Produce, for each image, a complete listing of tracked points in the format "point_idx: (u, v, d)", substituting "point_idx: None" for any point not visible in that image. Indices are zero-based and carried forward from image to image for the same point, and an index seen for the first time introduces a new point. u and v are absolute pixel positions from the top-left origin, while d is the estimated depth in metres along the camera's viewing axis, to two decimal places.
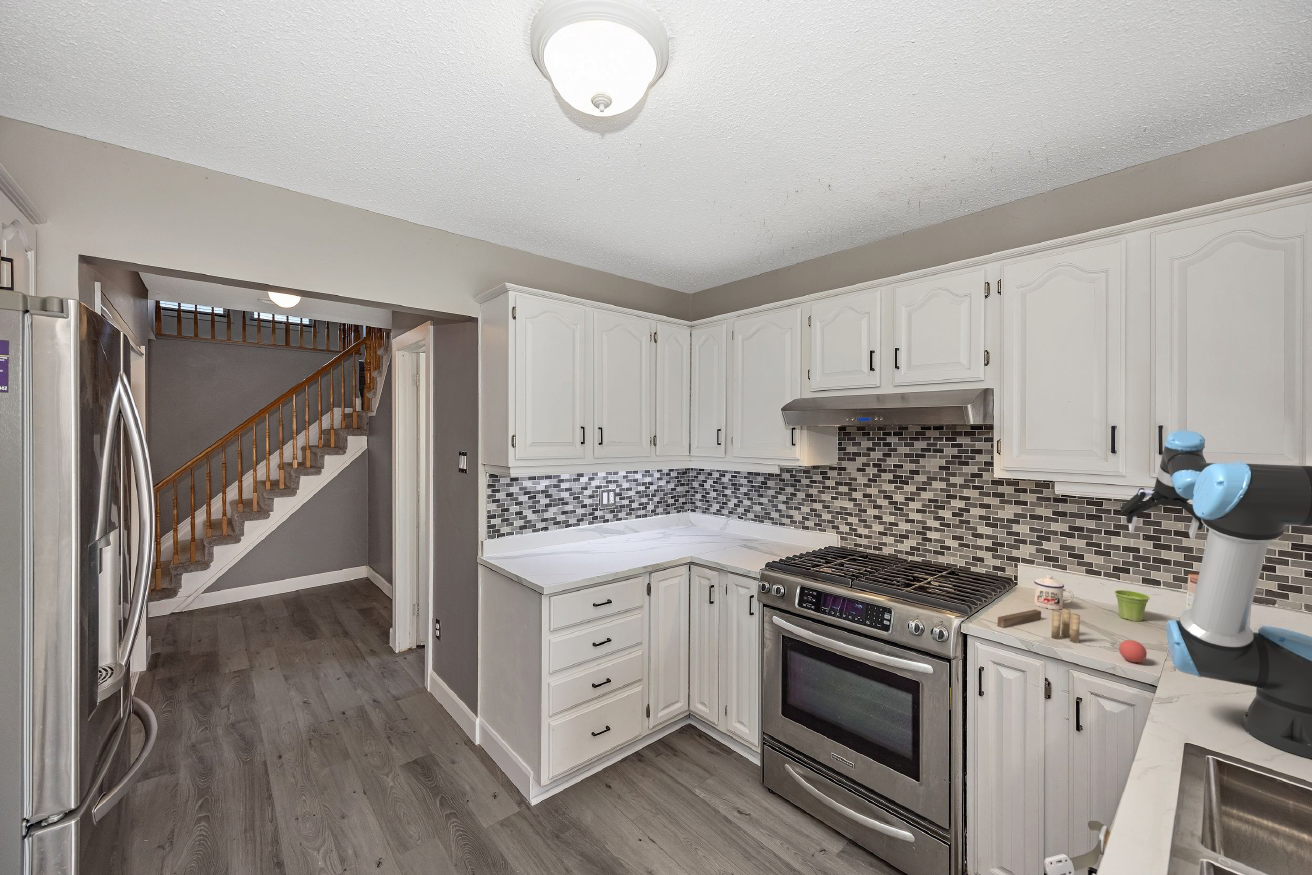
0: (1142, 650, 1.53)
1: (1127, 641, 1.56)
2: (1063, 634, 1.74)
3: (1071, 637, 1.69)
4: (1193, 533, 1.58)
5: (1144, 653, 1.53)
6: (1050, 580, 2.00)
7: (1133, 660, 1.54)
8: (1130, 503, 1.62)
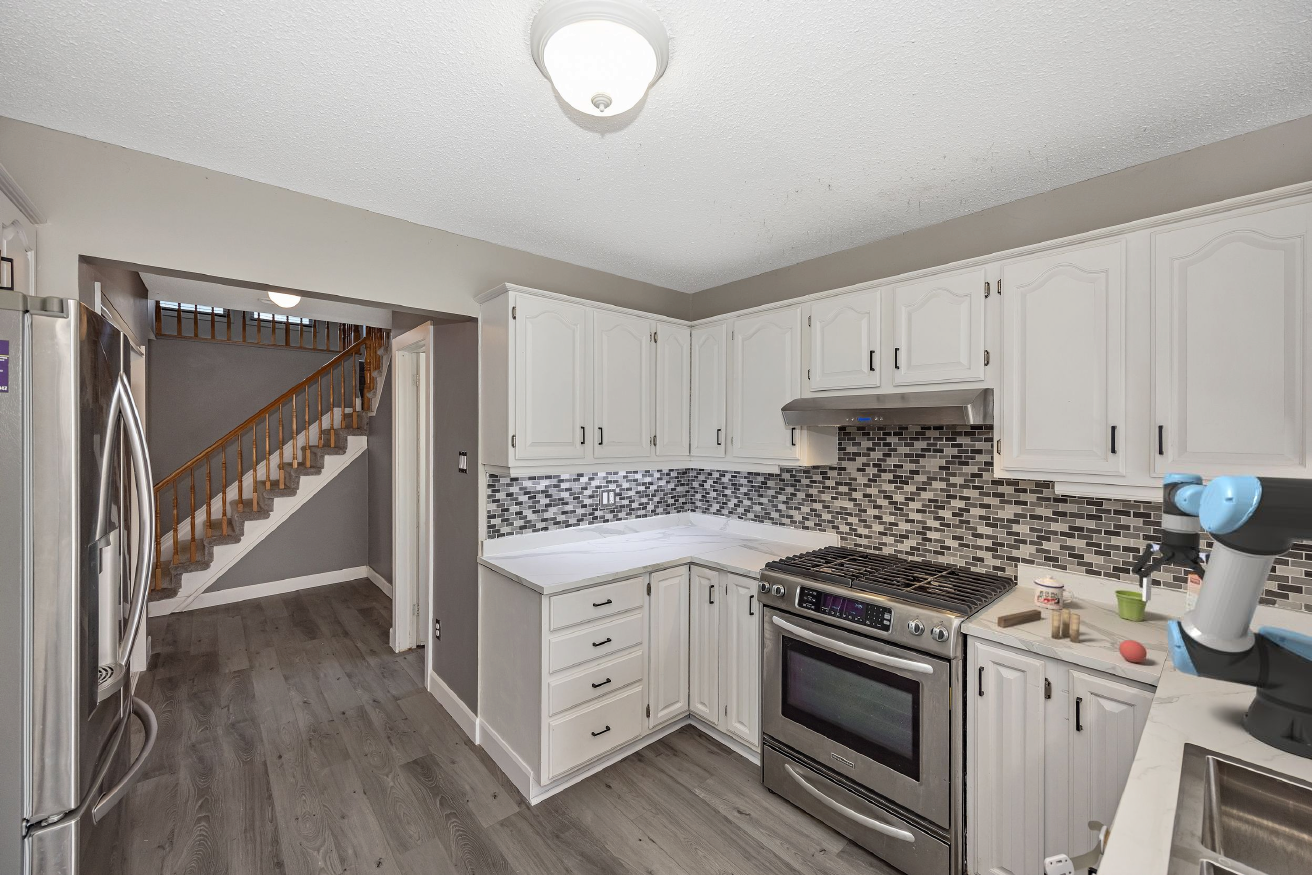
0: (1142, 650, 1.53)
1: (1127, 641, 1.56)
2: (1063, 634, 1.74)
3: (1071, 637, 1.69)
4: None
5: (1144, 653, 1.53)
6: (1050, 580, 2.00)
7: (1133, 660, 1.54)
8: None
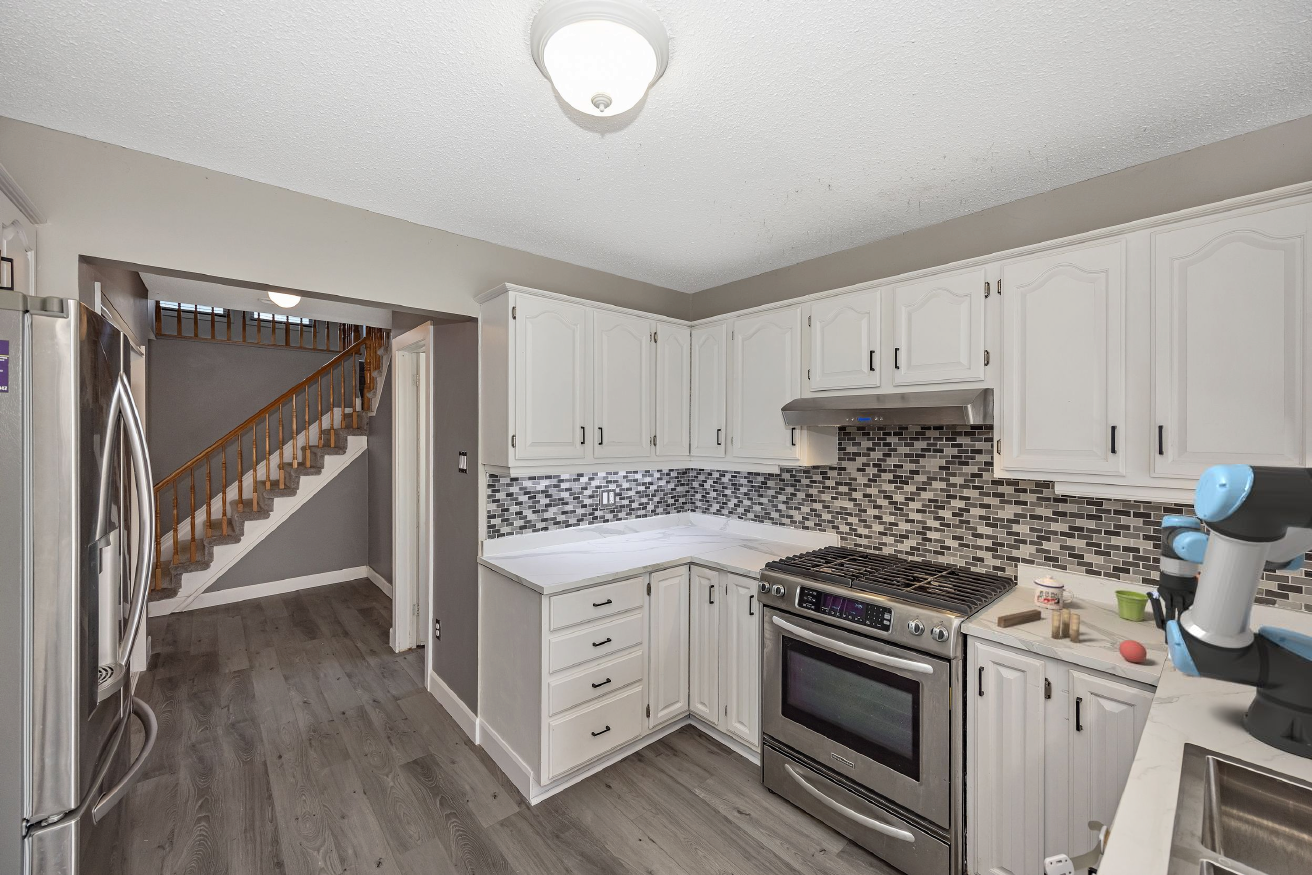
0: (1142, 650, 1.53)
1: (1127, 641, 1.56)
2: (1063, 634, 1.74)
3: (1071, 637, 1.69)
4: None
5: (1144, 653, 1.53)
6: (1050, 580, 2.00)
7: (1133, 660, 1.54)
8: None
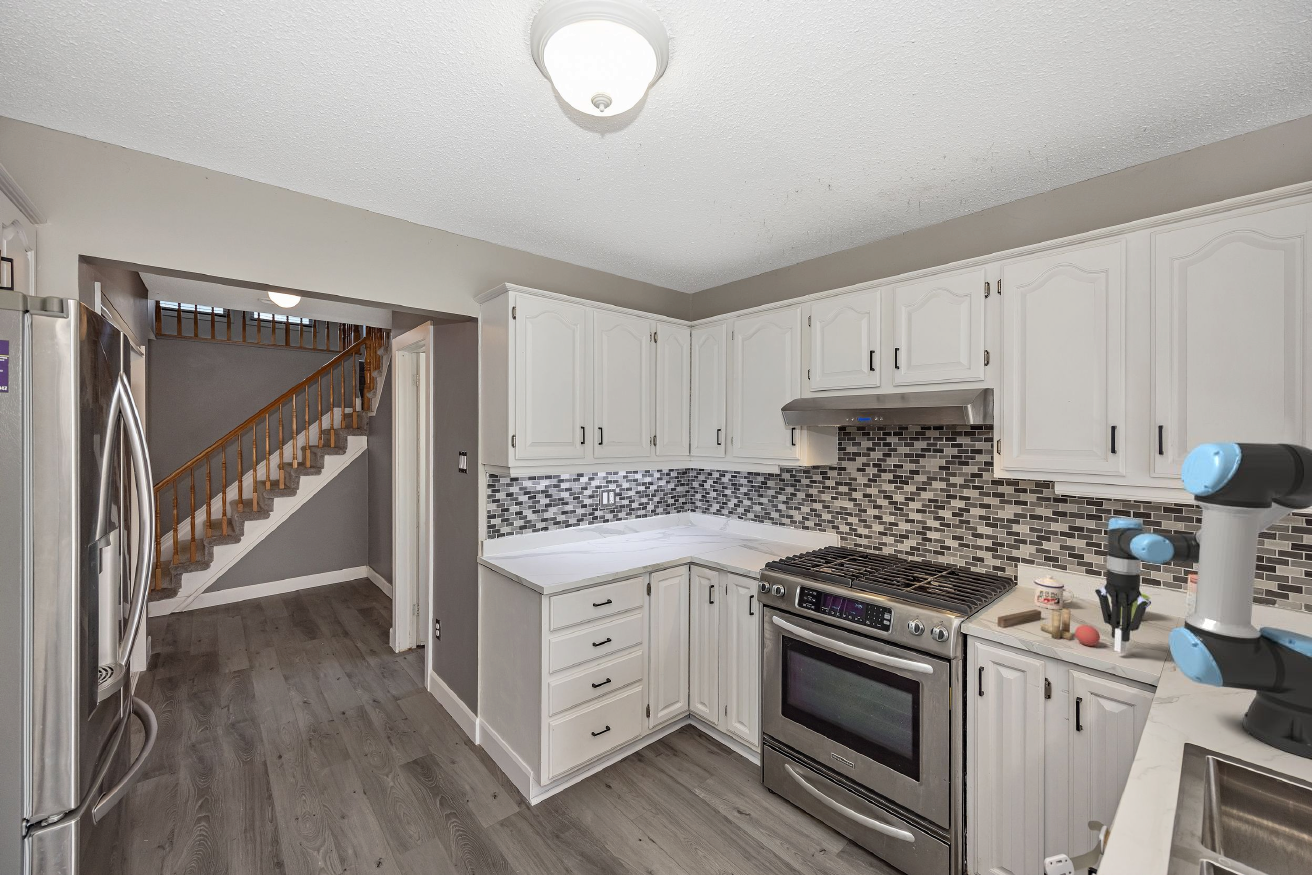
0: (1080, 641, 1.68)
1: (1092, 643, 1.65)
2: None
3: (1064, 636, 1.72)
4: (1118, 644, 1.58)
5: None
6: (1050, 580, 2.00)
7: (1076, 629, 1.68)
8: None
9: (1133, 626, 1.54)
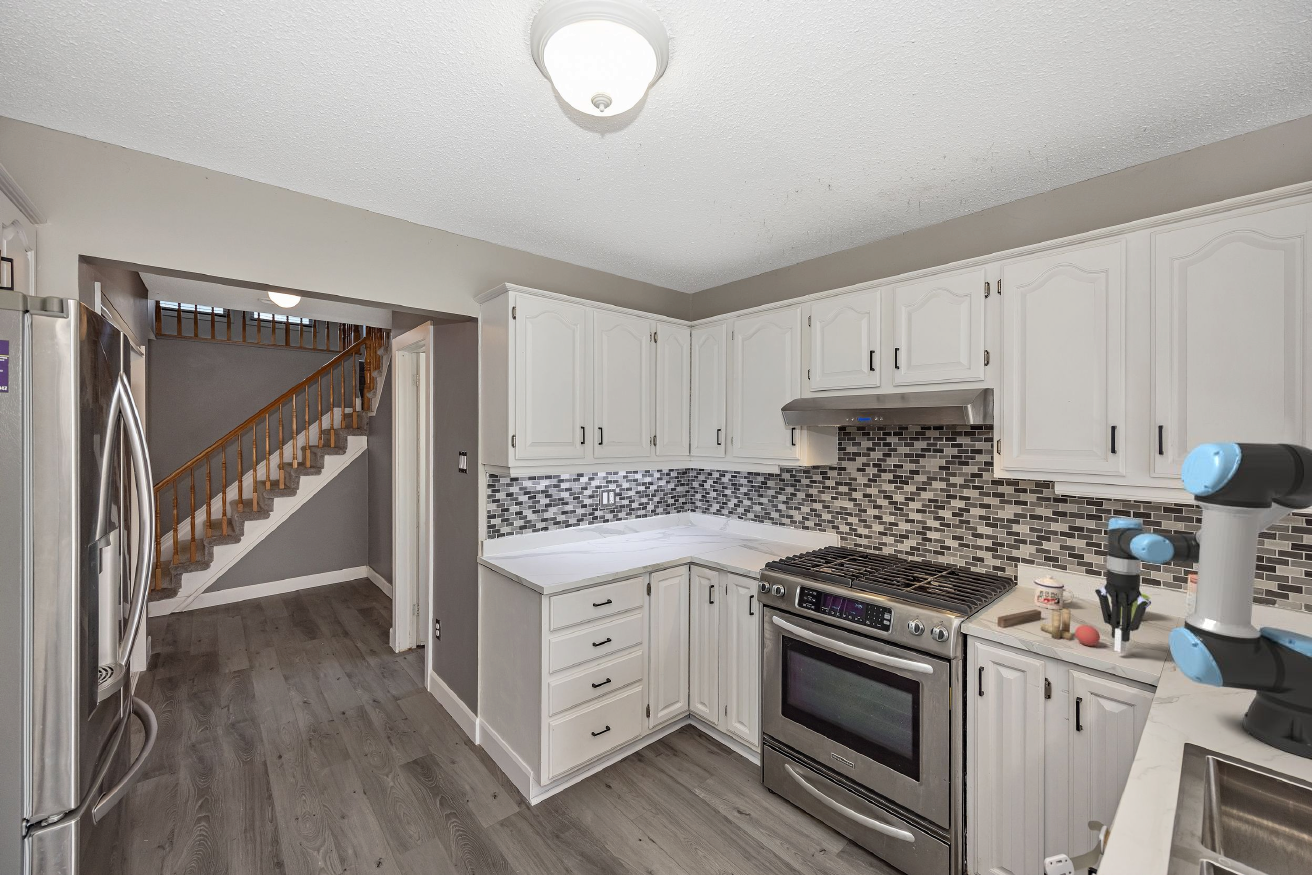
0: (1080, 641, 1.68)
1: (1092, 643, 1.65)
2: None
3: (1064, 636, 1.72)
4: (1118, 644, 1.58)
5: None
6: (1050, 580, 2.00)
7: (1076, 629, 1.68)
8: None
9: (1133, 626, 1.54)
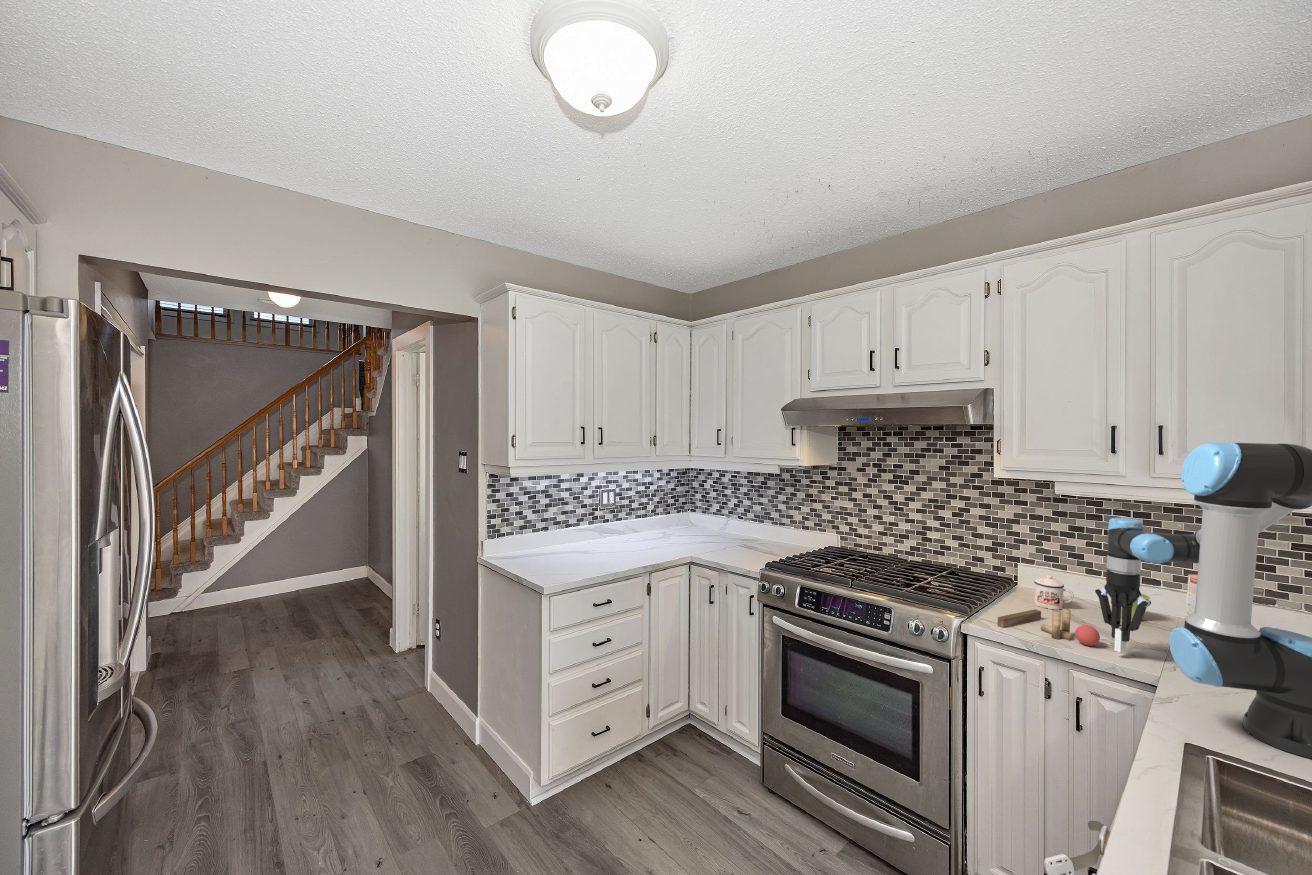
0: (1080, 641, 1.68)
1: (1092, 643, 1.65)
2: None
3: (1064, 636, 1.72)
4: (1118, 644, 1.58)
5: None
6: (1050, 580, 2.00)
7: (1076, 629, 1.68)
8: None
9: (1133, 626, 1.54)
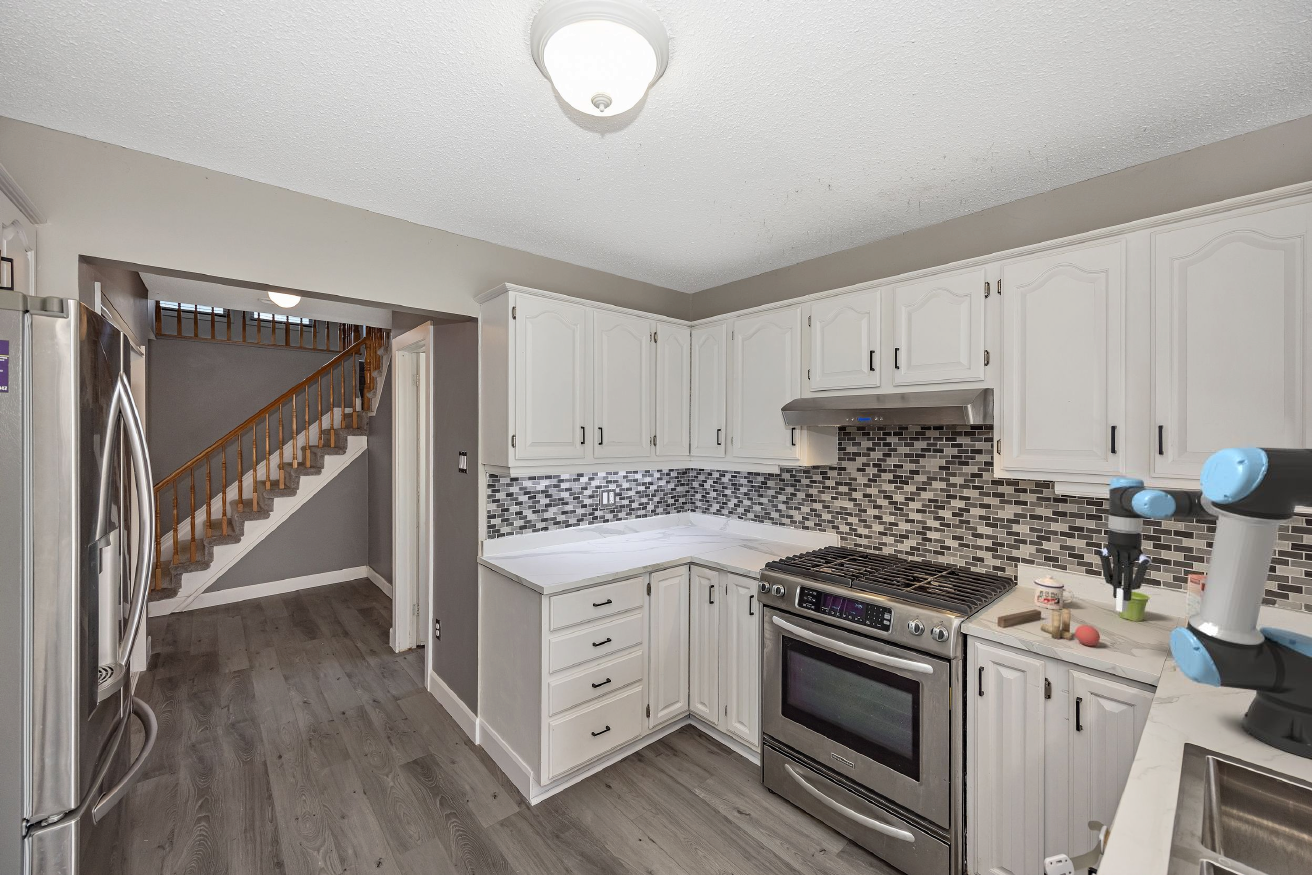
0: (1080, 641, 1.68)
1: (1092, 643, 1.65)
2: None
3: (1064, 636, 1.72)
4: (1120, 603, 1.57)
5: None
6: (1050, 580, 2.00)
7: (1076, 629, 1.68)
8: None
9: (1135, 585, 1.54)
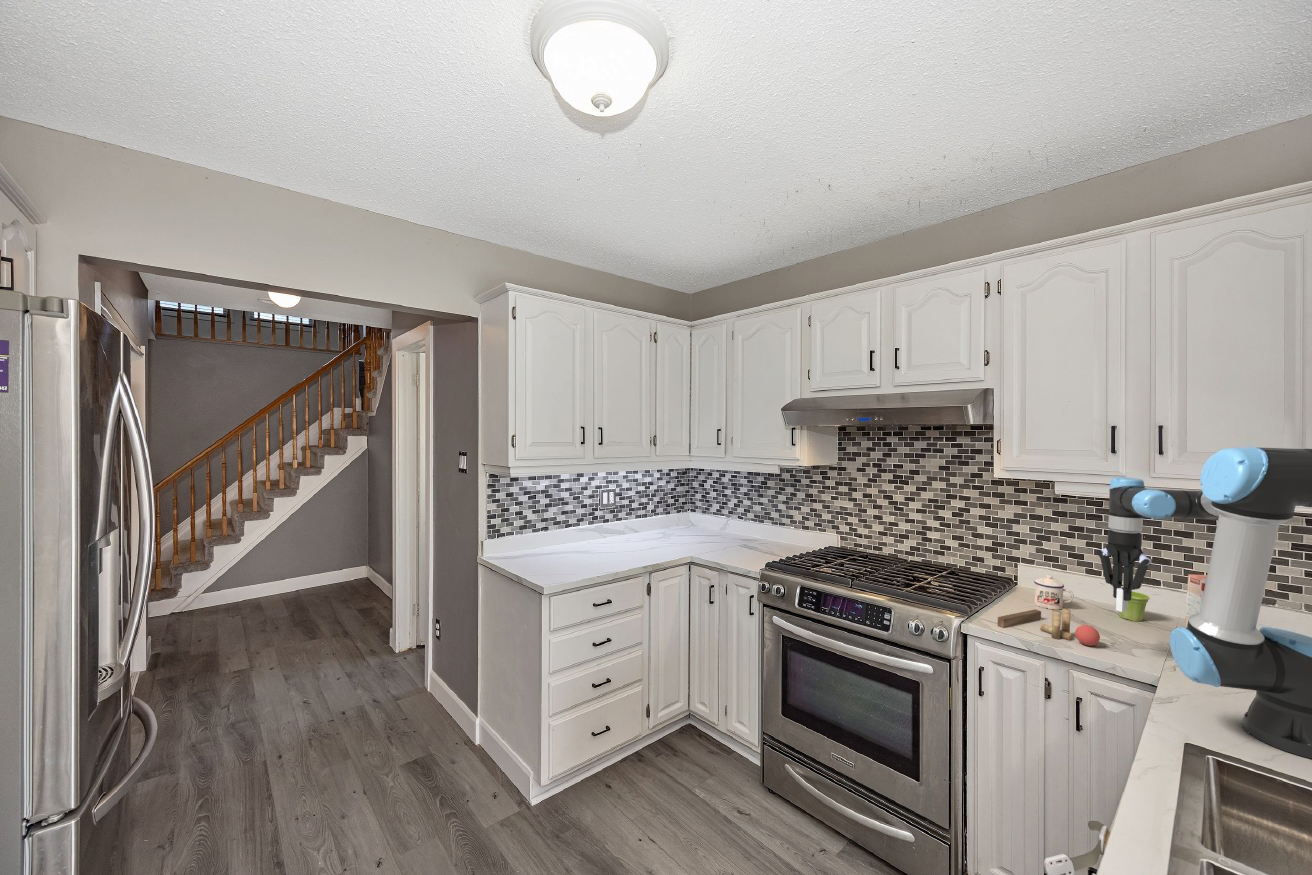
0: (1080, 641, 1.68)
1: (1092, 643, 1.65)
2: None
3: (1063, 636, 1.71)
4: (1120, 603, 1.57)
5: None
6: (1050, 580, 2.00)
7: (1076, 629, 1.68)
8: None
9: (1135, 585, 1.54)
